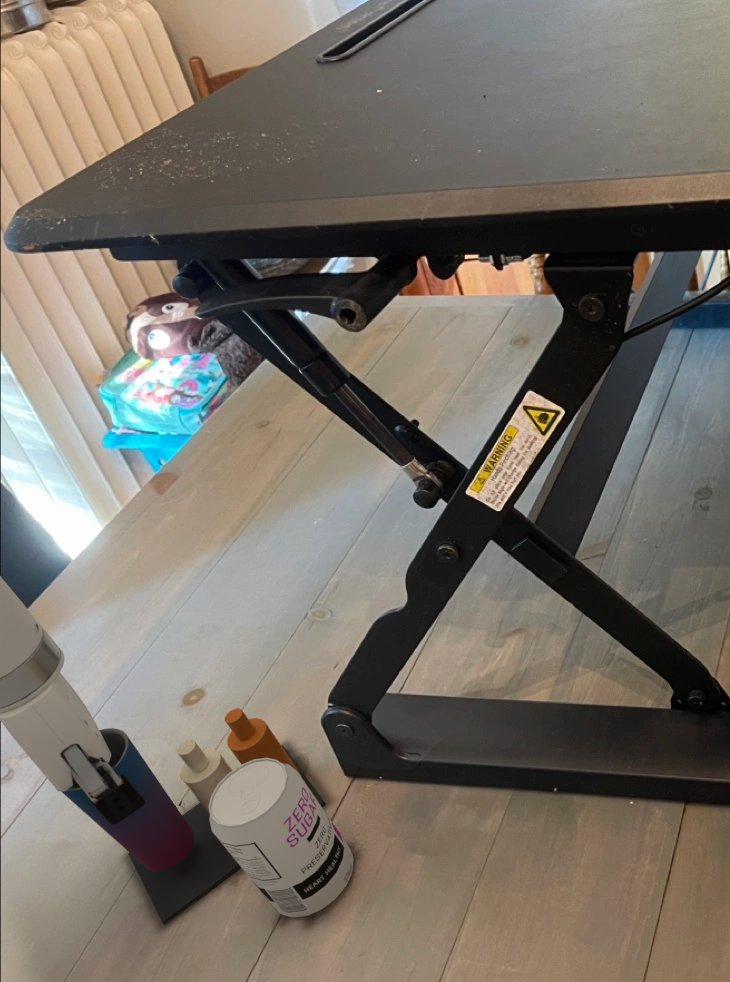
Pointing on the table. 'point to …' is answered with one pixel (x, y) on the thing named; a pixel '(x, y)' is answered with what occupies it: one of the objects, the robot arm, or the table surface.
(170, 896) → the mat
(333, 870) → the supplement can
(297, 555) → the table surface
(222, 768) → the cream bottle
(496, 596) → the table surface
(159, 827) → the cup
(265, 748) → the amber bottle
